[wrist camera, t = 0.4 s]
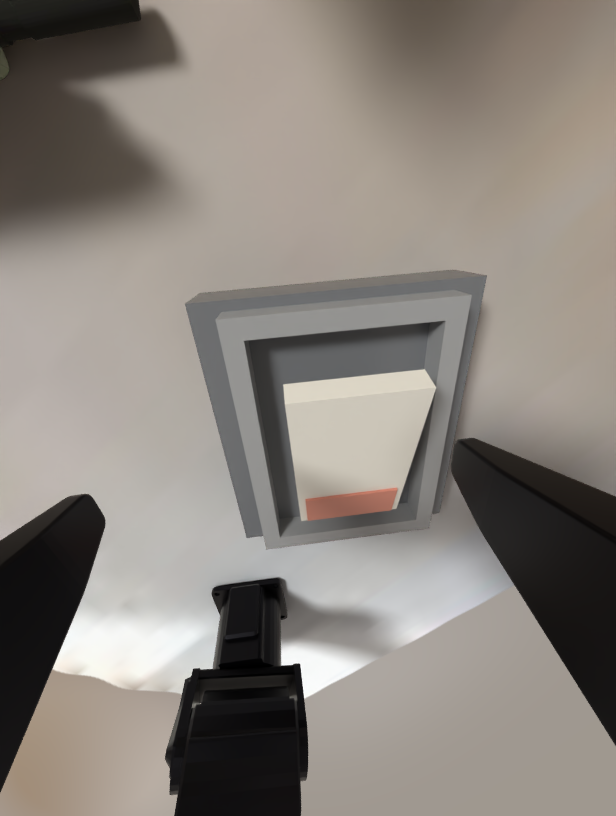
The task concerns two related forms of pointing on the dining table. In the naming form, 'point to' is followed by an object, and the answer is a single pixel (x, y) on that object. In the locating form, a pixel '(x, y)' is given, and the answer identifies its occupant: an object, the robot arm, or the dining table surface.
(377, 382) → the breaker switch
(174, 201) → the dining table surface
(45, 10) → the handheld radio
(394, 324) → the frame
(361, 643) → the dining table surface
